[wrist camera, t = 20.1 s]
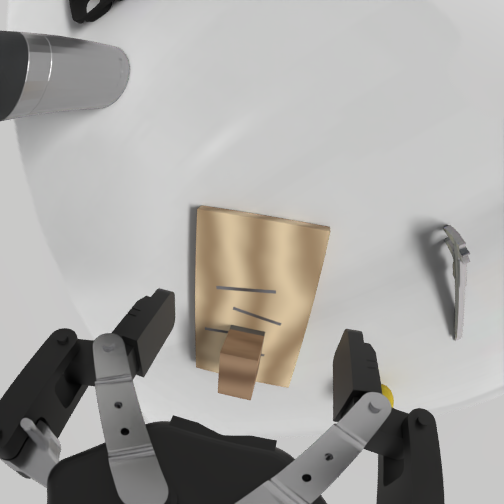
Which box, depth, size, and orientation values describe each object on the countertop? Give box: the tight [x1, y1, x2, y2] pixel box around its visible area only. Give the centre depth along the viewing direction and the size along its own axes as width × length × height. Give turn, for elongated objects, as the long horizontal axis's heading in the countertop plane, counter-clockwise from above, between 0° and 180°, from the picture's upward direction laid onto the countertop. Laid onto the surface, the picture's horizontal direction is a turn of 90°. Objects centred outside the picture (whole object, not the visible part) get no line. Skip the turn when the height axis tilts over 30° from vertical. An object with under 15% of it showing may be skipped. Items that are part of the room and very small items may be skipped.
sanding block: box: [218, 325, 265, 400], centre depth 41 cm, size 9×5×6 cm, turn 173°
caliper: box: [443, 225, 470, 341], centre depth 32 cm, size 20×1×6 cm, turn 25°
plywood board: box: [195, 205, 330, 387], centre depth 42 cm, size 16×28×2 cm, turn 174°
